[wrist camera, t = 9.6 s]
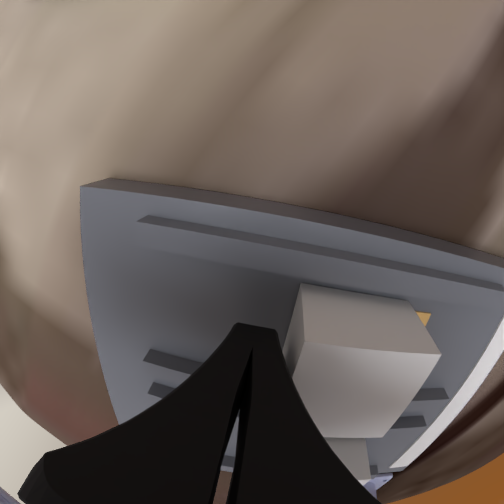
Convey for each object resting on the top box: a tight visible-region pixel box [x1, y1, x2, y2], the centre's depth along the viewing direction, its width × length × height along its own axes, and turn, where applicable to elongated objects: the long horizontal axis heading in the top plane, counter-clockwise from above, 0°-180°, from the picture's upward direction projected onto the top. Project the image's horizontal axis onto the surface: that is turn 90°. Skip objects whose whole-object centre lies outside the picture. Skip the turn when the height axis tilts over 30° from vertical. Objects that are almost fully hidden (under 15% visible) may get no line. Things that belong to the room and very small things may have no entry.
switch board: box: [80, 178, 504, 479], centre depth 12 cm, size 16×20×3 cm
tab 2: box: [324, 437, 371, 486], centre depth 11 cm, size 4×4×3 cm
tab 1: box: [282, 283, 442, 438], centre depth 8 cm, size 4×4×3 cm
